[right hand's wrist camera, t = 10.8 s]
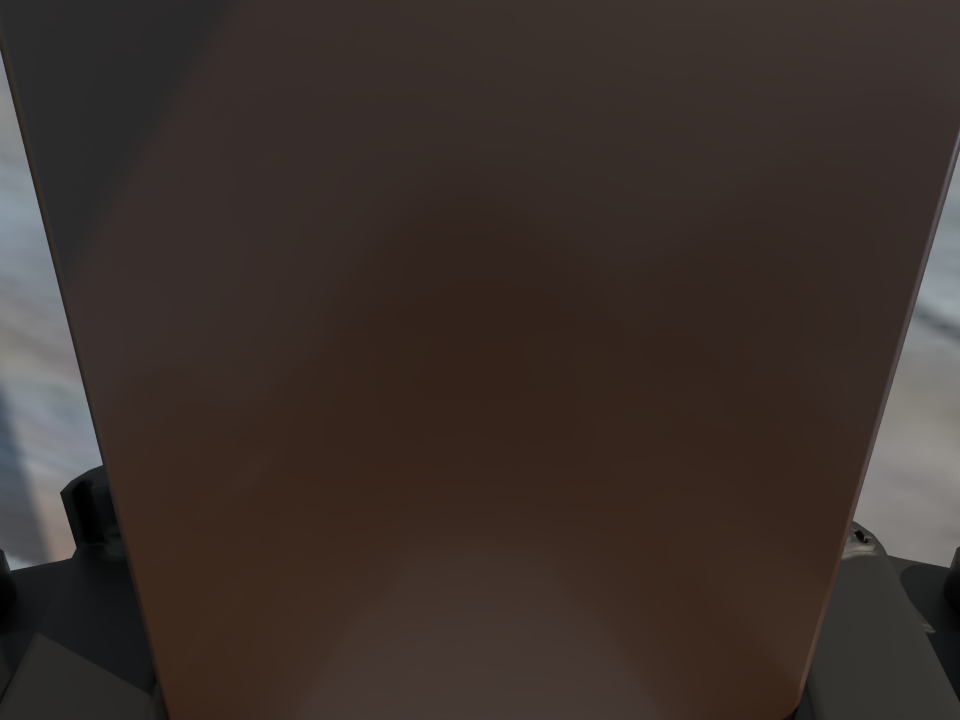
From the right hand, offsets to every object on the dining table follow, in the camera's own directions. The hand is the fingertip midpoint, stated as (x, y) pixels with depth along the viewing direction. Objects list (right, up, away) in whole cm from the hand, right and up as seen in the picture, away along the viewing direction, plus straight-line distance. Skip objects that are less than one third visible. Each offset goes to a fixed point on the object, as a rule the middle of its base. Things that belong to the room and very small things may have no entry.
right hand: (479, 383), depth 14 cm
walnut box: (0, +11, -4) cm, 11 cm away
